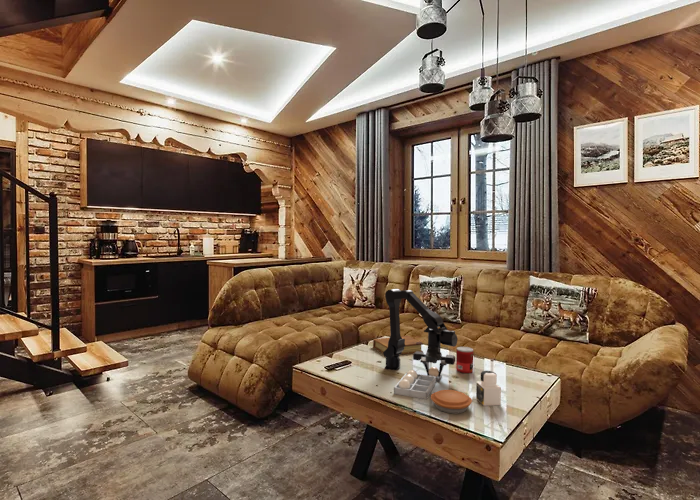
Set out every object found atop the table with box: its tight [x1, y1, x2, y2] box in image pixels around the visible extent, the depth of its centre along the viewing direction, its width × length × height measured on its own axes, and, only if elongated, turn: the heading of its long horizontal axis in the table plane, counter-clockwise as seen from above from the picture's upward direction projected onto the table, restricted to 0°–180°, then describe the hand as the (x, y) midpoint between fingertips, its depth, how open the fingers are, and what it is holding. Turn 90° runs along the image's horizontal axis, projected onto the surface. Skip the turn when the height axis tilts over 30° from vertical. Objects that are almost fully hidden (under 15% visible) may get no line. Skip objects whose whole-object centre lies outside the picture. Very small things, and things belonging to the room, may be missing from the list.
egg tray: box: [393, 372, 437, 400], centre depth 171 cm, size 14×20×3 cm
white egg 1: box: [406, 369, 418, 379], centre depth 178 cm, size 5×5×5 cm
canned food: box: [455, 346, 474, 374], centre depth 194 cm, size 8×8×11 cm
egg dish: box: [427, 374, 443, 382], centre depth 183 cm, size 6×6×1 cm
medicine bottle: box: [475, 370, 502, 407], centre depth 156 cm, size 7×7×12 cm
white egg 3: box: [398, 379, 410, 389], centre depth 166 cm, size 5×5×5 cm
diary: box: [372, 335, 424, 355], centre depth 231 cm, size 23×19×6 cm
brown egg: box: [429, 366, 439, 377], centre depth 183 cm, size 5×5×5 cm
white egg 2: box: [402, 374, 414, 384], centre depth 172 cm, size 5×5×5 cm
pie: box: [430, 389, 473, 414], centre depth 151 cm, size 15×16×5 cm
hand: (433, 375), depth 183 cm, fingers closed on brown egg, 5 cm apart
